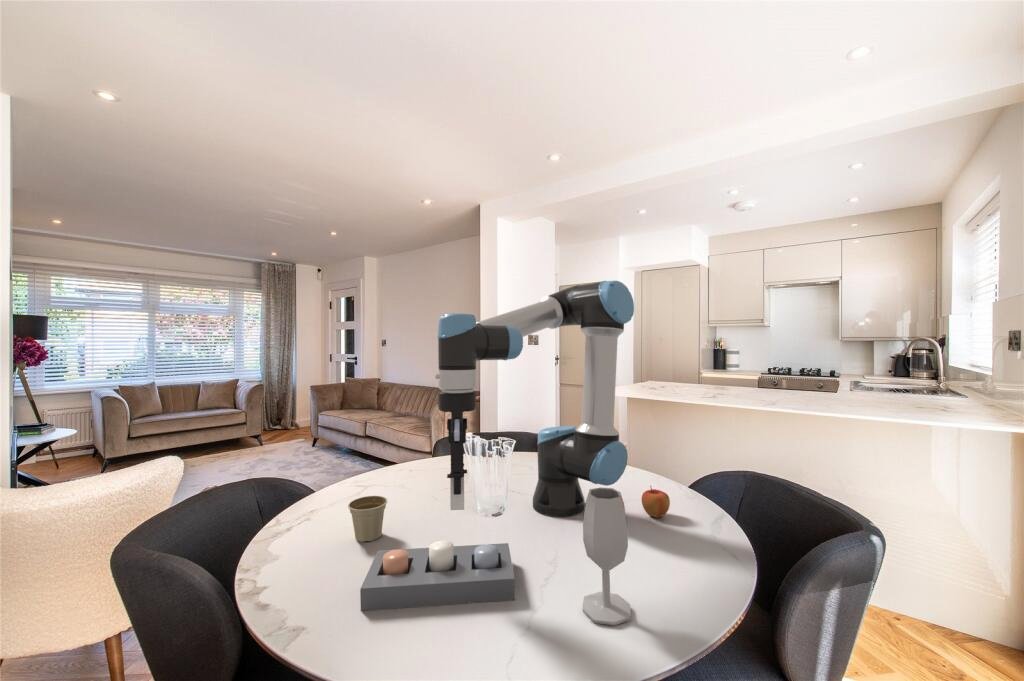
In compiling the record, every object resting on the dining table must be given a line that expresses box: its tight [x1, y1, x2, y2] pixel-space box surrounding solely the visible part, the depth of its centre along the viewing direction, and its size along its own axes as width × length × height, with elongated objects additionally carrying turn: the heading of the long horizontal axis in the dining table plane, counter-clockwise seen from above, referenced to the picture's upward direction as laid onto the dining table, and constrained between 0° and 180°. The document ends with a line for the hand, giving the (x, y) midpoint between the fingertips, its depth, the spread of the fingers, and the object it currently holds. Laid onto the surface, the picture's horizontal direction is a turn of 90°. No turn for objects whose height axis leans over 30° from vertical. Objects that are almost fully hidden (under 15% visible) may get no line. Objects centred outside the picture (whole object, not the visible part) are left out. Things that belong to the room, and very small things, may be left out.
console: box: [360, 542, 516, 612], centre depth 84 cm, size 28×14×4 cm, turn 95°
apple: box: [641, 485, 671, 519], centre depth 115 cm, size 7×7×8 cm
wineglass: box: [581, 487, 632, 626], centre depth 75 cm, size 9×9×21 cm
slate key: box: [474, 543, 498, 570], centre depth 85 cm, size 5×5×4 cm
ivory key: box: [428, 540, 454, 572], centre depth 84 cm, size 5×5×4 cm
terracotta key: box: [383, 548, 408, 575], centre depth 83 cm, size 5×5×4 cm
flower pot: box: [347, 495, 389, 543], centre depth 105 cm, size 9×9×9 cm
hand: (457, 508), depth 84 cm, fingers closed
